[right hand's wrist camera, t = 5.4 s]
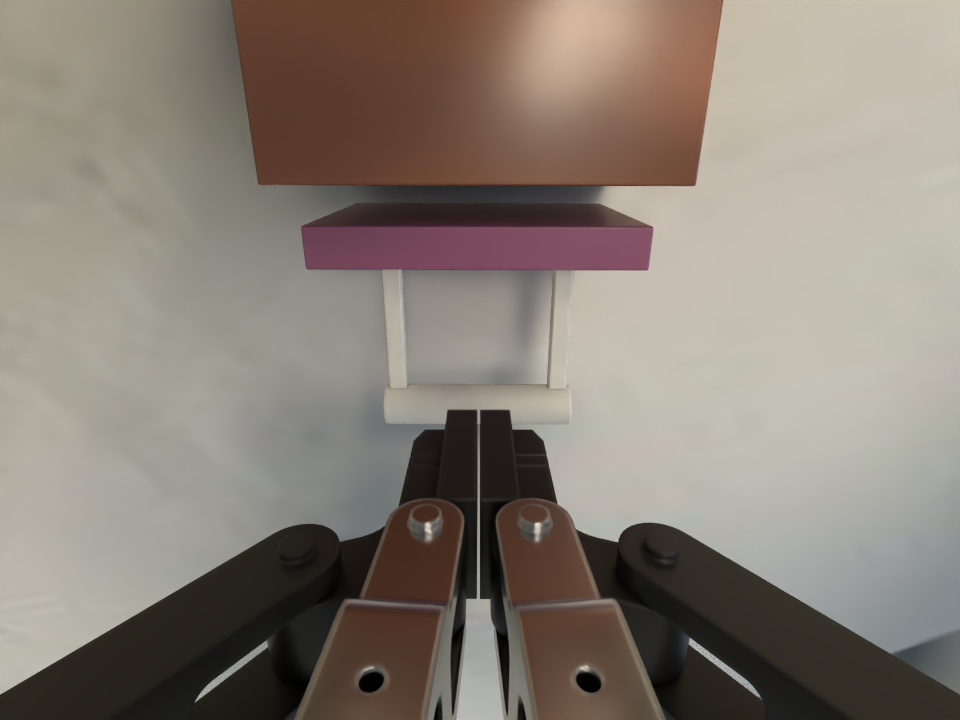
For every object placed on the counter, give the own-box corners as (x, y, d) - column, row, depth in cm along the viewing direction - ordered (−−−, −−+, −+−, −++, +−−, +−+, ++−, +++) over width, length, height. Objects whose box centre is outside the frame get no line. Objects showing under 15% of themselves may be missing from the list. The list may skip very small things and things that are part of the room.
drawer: (586, 374, 23) (625, 458, 17) (370, 374, 23) (328, 457, 17) (632, -170, 16) (728, -374, 10) (325, -171, 16) (225, -376, 10)
